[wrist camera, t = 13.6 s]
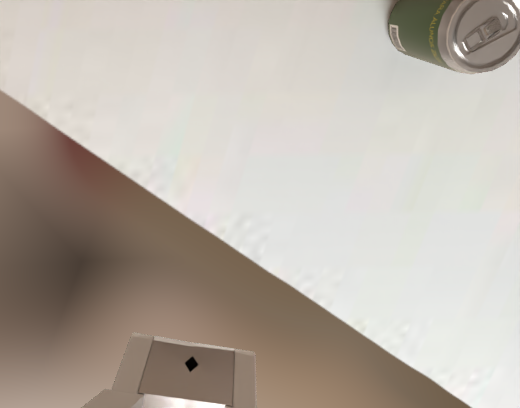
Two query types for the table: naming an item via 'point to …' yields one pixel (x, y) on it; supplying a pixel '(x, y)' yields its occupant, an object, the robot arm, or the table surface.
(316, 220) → the table surface
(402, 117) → the table surface
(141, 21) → the table surface
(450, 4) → the beer can
